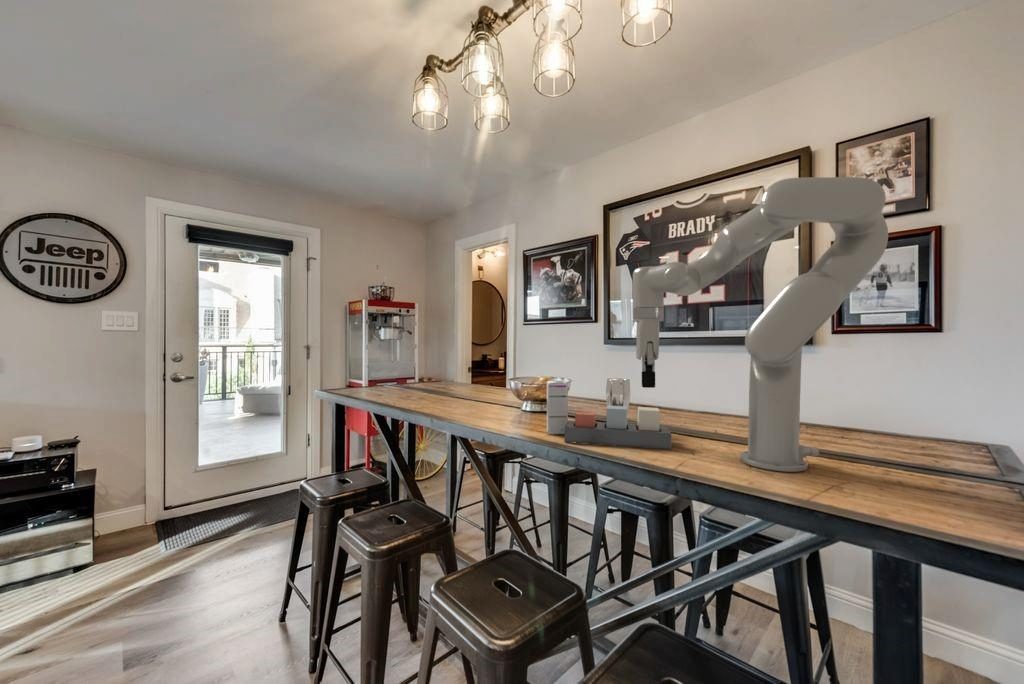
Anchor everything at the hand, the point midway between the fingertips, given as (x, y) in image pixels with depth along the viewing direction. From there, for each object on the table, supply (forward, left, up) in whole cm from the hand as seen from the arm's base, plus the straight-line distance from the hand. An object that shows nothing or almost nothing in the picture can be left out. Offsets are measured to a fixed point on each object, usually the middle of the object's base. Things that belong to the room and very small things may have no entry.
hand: (648, 387), depth 110 cm
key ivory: (0, 0, -11) cm, 11 cm away
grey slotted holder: (+7, -3, -15) cm, 17 cm away
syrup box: (+20, -15, -15) cm, 29 cm away
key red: (+15, -6, -13) cm, 20 cm away
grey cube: (+7, -3, -11) cm, 13 cm away
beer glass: (+2, -16, -15) cm, 22 cm away
